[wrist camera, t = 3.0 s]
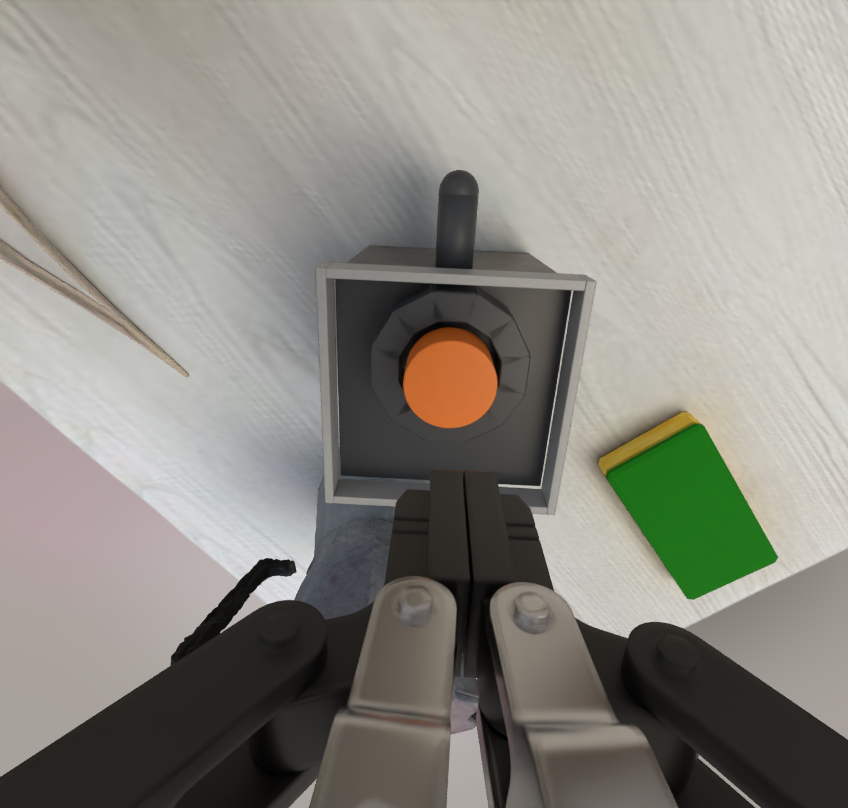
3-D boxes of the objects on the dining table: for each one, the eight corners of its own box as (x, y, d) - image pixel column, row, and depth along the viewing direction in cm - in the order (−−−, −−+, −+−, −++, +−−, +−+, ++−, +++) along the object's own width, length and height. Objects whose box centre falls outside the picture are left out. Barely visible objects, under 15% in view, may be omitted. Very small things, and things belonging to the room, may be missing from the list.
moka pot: (469, 548, 40) (495, 852, 22) (279, 537, 40) (143, 830, 22) (480, 443, 36) (522, 703, 18) (270, 431, 36) (96, 679, 18)
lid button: (405, 406, 21) (401, 426, 20) (407, 324, 20) (404, 338, 18) (488, 410, 21) (492, 431, 20) (496, 328, 20) (502, 342, 18)
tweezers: (-60, 205, 31) (-90, 208, 29) (-24, 147, 30) (-52, 146, 28) (177, 389, 37) (165, 401, 35) (216, 347, 35) (206, 356, 34)
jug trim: (356, 417, 32) (325, 503, 23) (353, 170, 26) (310, 160, 18) (523, 426, 32) (555, 515, 23) (556, 180, 26) (616, 174, 17)
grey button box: (368, 393, 35) (332, 498, 23) (368, 245, 31) (324, 279, 19) (510, 400, 35) (548, 510, 23) (529, 253, 31) (586, 292, 19)
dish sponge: (686, 408, 35) (703, 423, 32) (761, 540, 39) (780, 561, 37) (594, 459, 36) (605, 476, 34) (676, 580, 41) (689, 602, 38)
